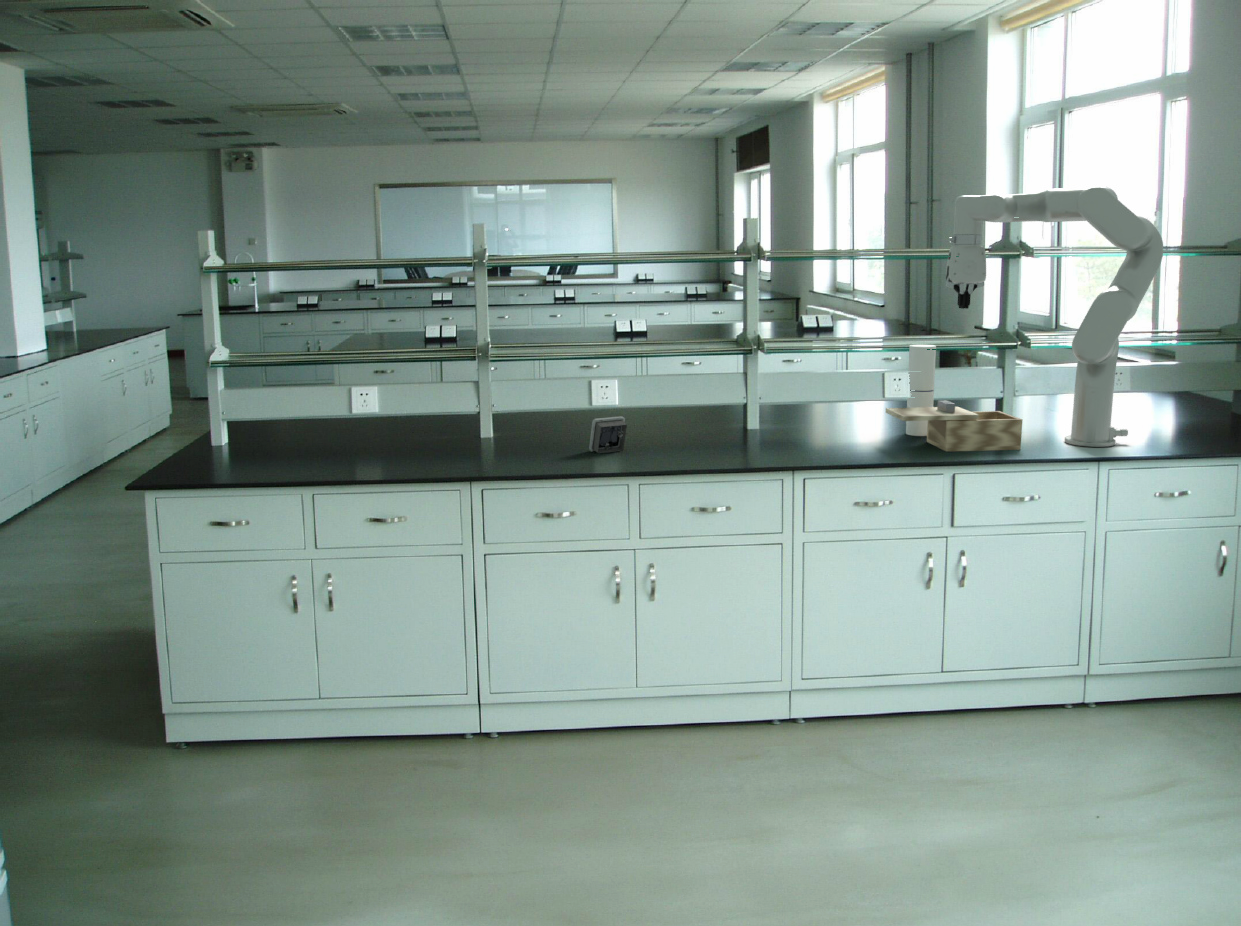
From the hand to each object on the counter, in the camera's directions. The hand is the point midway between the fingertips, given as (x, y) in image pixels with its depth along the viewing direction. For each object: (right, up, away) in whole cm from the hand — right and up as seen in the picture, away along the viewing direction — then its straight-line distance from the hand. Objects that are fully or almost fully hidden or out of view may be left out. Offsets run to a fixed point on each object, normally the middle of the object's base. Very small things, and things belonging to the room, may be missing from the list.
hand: (963, 308), depth 300 cm
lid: (-14, -31, -16) cm, 38 cm away
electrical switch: (-99, -40, -16) cm, 108 cm away
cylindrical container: (-11, -35, +4) cm, 37 cm away
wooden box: (-2, -39, -14) cm, 41 cm away
